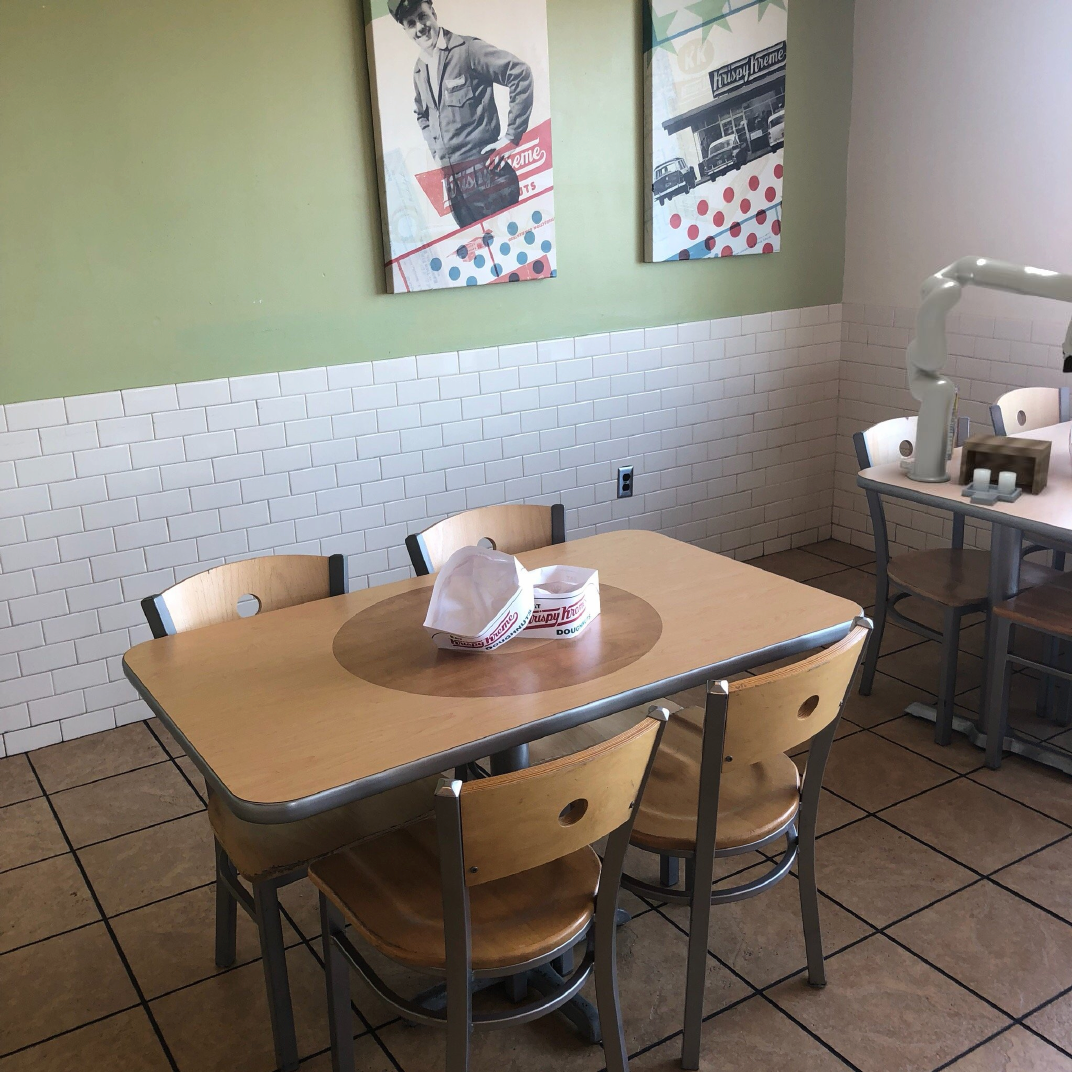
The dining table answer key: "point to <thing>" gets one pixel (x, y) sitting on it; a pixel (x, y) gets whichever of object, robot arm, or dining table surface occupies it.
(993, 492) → the glasses tray
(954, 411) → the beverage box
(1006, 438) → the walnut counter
